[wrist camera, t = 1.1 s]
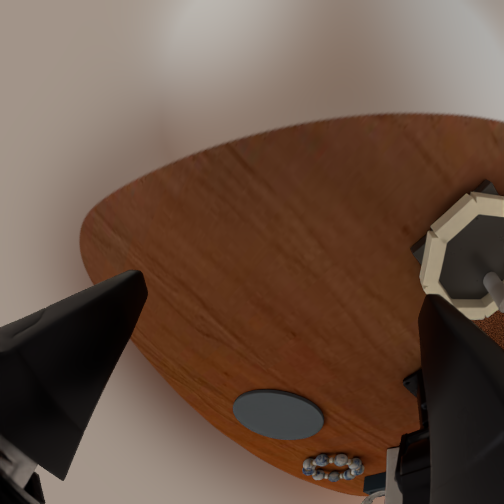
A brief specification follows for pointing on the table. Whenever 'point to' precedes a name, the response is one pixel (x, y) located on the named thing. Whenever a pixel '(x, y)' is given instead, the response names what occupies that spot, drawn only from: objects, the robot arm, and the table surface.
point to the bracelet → (339, 460)
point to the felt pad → (278, 414)
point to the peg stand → (473, 257)
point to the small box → (392, 479)
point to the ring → (445, 232)
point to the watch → (374, 487)
